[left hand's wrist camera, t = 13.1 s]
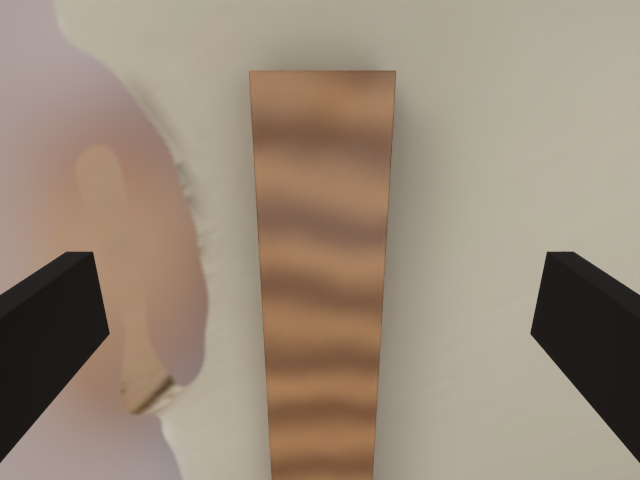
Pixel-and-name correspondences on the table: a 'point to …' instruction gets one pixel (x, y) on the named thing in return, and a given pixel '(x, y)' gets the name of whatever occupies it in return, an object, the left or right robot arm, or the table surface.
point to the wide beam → (322, 262)
